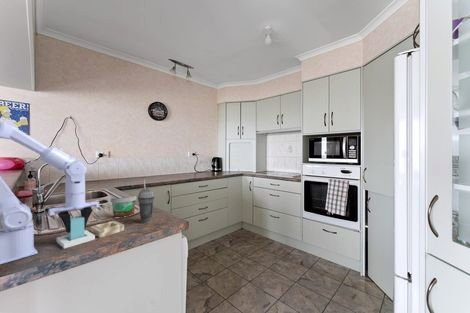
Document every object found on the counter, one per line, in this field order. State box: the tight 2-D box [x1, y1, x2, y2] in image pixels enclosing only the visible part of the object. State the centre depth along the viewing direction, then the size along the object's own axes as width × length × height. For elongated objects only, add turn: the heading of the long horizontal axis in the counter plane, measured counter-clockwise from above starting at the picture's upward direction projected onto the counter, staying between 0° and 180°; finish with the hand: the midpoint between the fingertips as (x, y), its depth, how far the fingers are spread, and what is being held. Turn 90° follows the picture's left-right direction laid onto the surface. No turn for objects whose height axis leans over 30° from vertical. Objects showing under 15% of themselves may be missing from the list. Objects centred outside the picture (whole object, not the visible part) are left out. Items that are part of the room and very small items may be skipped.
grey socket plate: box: [56, 229, 96, 249], centre depth 73 cm, size 9×9×2 cm
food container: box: [110, 195, 138, 218], centre depth 101 cm, size 12×6×10 cm, turn 105°
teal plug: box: [66, 215, 85, 241], centre depth 73 cm, size 4×4×8 cm
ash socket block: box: [90, 220, 125, 239], centre depth 82 cm, size 9×9×2 cm
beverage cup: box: [137, 179, 155, 224], centre depth 94 cm, size 7×7×20 cm
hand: (75, 230), depth 73 cm, fingers closed on teal plug, 4 cm apart
